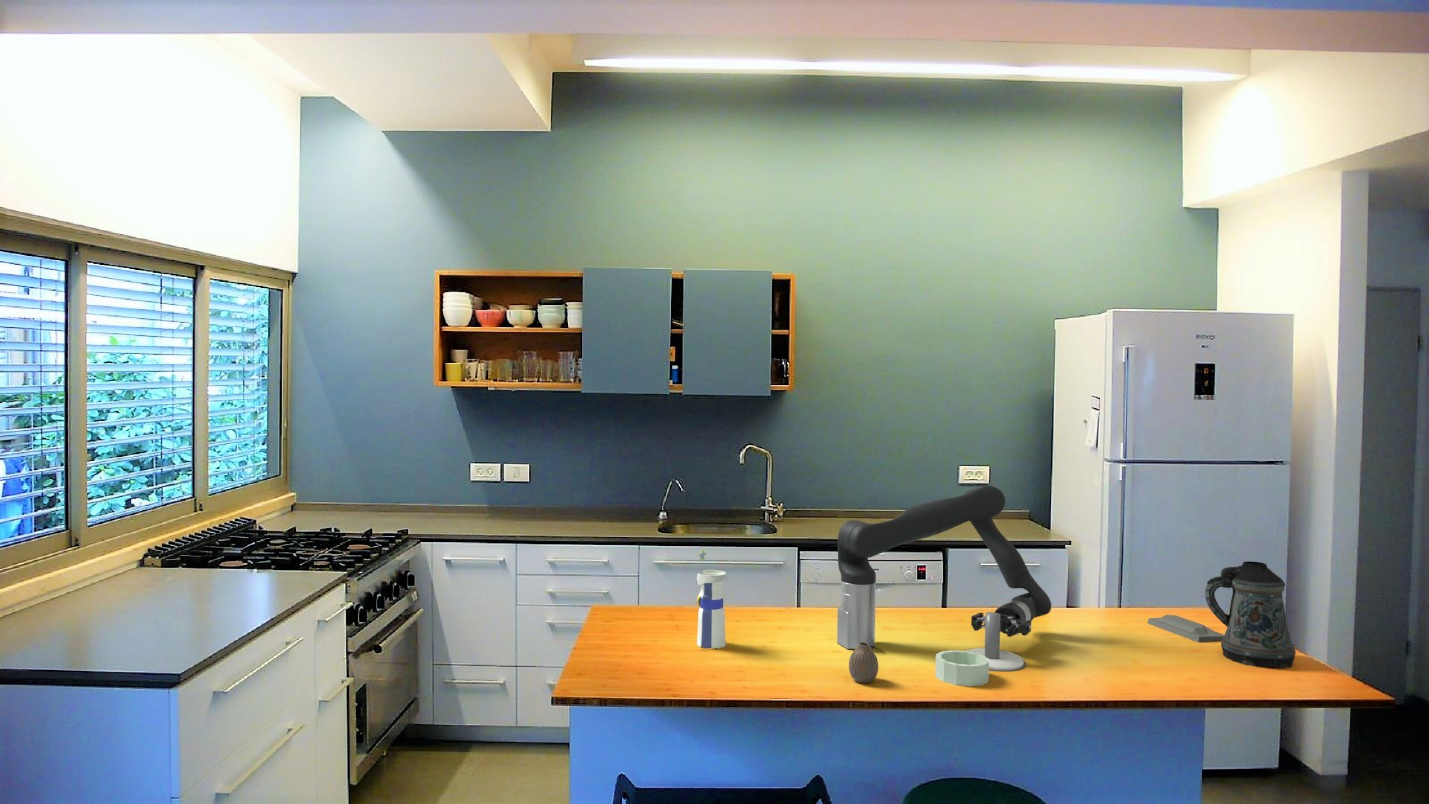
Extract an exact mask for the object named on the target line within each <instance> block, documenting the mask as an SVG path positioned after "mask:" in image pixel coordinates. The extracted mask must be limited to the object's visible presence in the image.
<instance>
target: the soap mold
mask: <svg viewBox="0 0 1429 804" xmlns="http://www.w3.org/2000/svg"><path fill="white" fill-rule="evenodd" d="M1146 624H1148V625H1151V626H1154V627H1156V628H1158V629H1161V630H1164V631H1167V632H1169V633H1172V634H1175V635H1177V636H1180V637H1183V638H1184V639H1185V638H1186V639H1188V640H1191V641H1194V642H1197V643H1212V642H1221V640H1222V639H1223V637H1224V635H1225V633H1224V634H1223V633H1220V632H1218V631H1215V630H1214V629H1212V628H1209V627H1208V626H1207V625H1204V624H1202V623H1200V622H1196V621H1193V620H1191V619H1187V618H1184V617H1183V616H1179V615H1175V614H1165V615H1164V616H1162V617H1149V618H1148V619H1147V623H1146Z"/></svg>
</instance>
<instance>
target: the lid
mask: <svg viewBox="0 0 1429 804" xmlns="http://www.w3.org/2000/svg"><path fill="white" fill-rule="evenodd" d="M984 616H985V628H984V648H983V647H981V648H970V649H966V650H965V651H968V652H973V653H977V654H980V655H983V656H985V657H987V658H988V661H989V670H995V671H994V672H998V671H1010V670H1017V669H1020V668H1022V667H1023V663H1025V662H1024V659H1023V657H1021V656H1020V655H1018V654H1016V653H1013V652H1010V651H1007V650H1002V649H1000V648H1001V646H1000V645H1001V632H1000V614H999V613H995V611H991V612H990V611H988V612H985V614H984ZM1017 671H1018V670H1017ZM1010 672H1011V671H1010Z"/></svg>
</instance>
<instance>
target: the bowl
mask: <svg viewBox="0 0 1429 804" xmlns="http://www.w3.org/2000/svg"><path fill="white" fill-rule="evenodd" d="M989 673H990V671H989V661H988V658H987V657H985V656H983V655H980V654H977V653H973V652H968V651H966V650H954V649H952V650H951V649H950V650H942V651H940V652H938V653H935V678H936V679H938V680H940V681H941V682H943V683H945V684H950V685H954V686H962V687H977V686H979V687H980V686H983V685H986V684H987V683H989V680H990V678H989V677H990V674H989Z"/></svg>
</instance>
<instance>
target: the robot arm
mask: <svg viewBox="0 0 1429 804" xmlns="http://www.w3.org/2000/svg"><path fill="white" fill-rule="evenodd" d="M1005 505H1006V496H1005V495H1004V493H1003V492H1002V490H1000V488H998V487H996V486H993V485H987V484H986V485H980V486H977V487H975V488H972V489H968V490H967V491H965V492H964V493H963V494H962V495H959V496H955V497H947V498H942V499H937V500H931V501H926V502H922V503H920V504H916V505H913V506H910V507H907V508H906V509H904V510H903V511H902V512H901V513H899V515H897V516H896V517H894V518H893V519H890V520H886V521H882V522H881V521H880V522H876V523H867V522H865V521H860V520H855V519H851V520H847V521H846V522H844V523H843V524H842V525H841V527H840V528H839V532H838V536H837V565H838V570H839V572H840V607H838V608H837V617H836V618H837V625H836V626H837V627H836V628H837V629H836V631H837V632H836V633H837V634H836V635H837V636H836V638H837V639H836V643H837V644H839V645H840V646H842V647H844V648H845V649H848V650H849V649H850V650H855V649H856V648H857V646H858V644H859V643H861V642H865V643H868V644H869V645H870V648H871V649H872V648H874V647H875V645H876V597H877V596H876V595H877V594H876V591H877V589H876V585H877V584H876V583H877V582H876V581H877V580H876V579H877V573H876V571H875V569H873V567H872V566H871V563H870V562H869V558H873V557H876V556H877V555H880V554H882V553H884V552H886V551H888V550H891V549H893V548H896V547H898V546H901V545H905V544H909V543H913V542H915V541H919V540H923V539H926V538H930V537H933V536H936V535H938V534H941V533H943V532H947V531H950V530H952V529H953V528H956V527H958V526H961V525H962V524H965V523H968V522H970V523H971V525H972V526H973V529H975V530H976V533H977V534H978V536H979V537H980V538H981V540H982V542H984V544H985V546H986V547H987V548H988V551H989V552H990V554H991V555H992V557H993V559H994V561H995V563H996V565H997V566H998V569H999V570H1000V572H1001V575H1002V577H1003V578H1004V581H1005V583H1006V584H1007V586H1008V588H1009V589H1013V590H1014V589H1023V590H1025V591H1027V592H1025V593H1023V594H1019V595H1016V596H1015V597H1012V599H1011V601H1009V602H1006V603H1005V604H1002V605H1000V606H998V607H997V608H996V610H995V611H994V612H995V613H999V614H1000V633H1002V634H1004V635H1006V636H1007V637H1008V638H1011V637H1014V636H1018V635H1019V634H1021V636H1024V637H1025V636H1028V635H1029V634H1030V633H1031V632H1032V621H1034V619H1035V618H1039V617H1041V616H1046V615H1048V614H1049V613H1051V610H1052V601H1051V599H1050V597H1049V595H1048V594H1047V593H1046V592H1045V590H1044V589H1043V588H1042V587H1041V585H1039V583H1038V582H1037V581H1036V580H1035V579H1034V577H1033V576H1032V575H1031V572H1030V571H1029V569H1028V567H1027V565H1026V562H1025V561H1024V559H1023V557H1022V555H1021V553H1020V552H1019V551H1018V549H1017V548H1016V547H1015V546H1014V545H1013V544H1012V542H1010V541H1009V540H1008V539H1007V538H1006V537H1005V536H1004V535H1003V534H1002V533H1001V531H1000V530H999V528H998V527H997V526H996V523H995V522H994V520H993V518H994V517H997V516H999V514H1001V513H1002V511H1003V510H1004V508H1005ZM970 618H971V619H970V620H971V622H970V627H972V629H973V631H976V632H978V631H980V630H981V629H985V614H984V612H978V613H975V614H973V615H972V616H970Z"/></svg>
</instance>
